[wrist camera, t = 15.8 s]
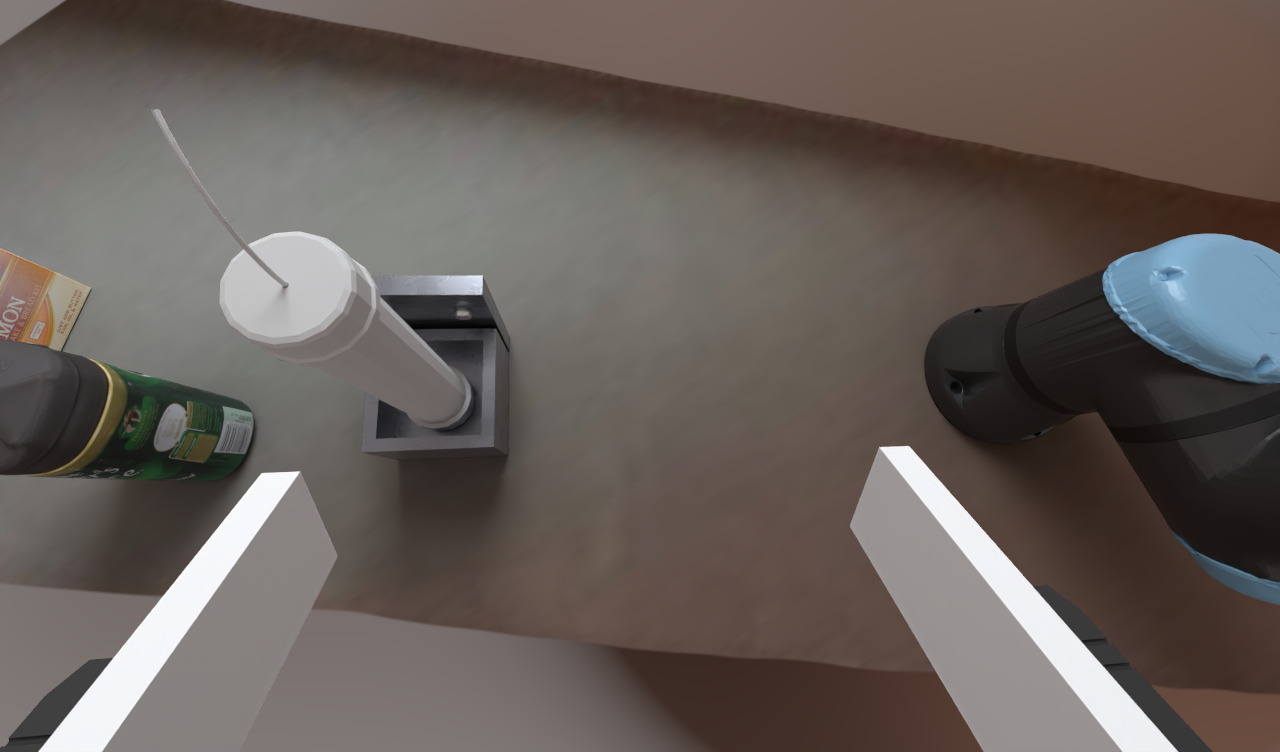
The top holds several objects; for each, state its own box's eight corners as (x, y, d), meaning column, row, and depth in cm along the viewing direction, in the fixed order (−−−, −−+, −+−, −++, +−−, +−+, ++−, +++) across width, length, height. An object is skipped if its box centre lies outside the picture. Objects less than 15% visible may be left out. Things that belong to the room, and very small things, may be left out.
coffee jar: (126, 475, 43) (-204, 459, 25) (160, 387, 45) (-123, 314, 27) (242, 489, 43) (5, 483, 25) (271, 402, 45) (69, 341, 27)
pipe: (422, 441, 42) (76, 312, 13) (403, 375, 43) (49, 126, 15) (485, 420, 43) (291, 257, 14) (465, 356, 44) (249, 88, 16)
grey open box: (508, 455, 47) (478, 438, 33) (398, 460, 45) (321, 443, 32) (509, 336, 50) (482, 275, 36) (406, 337, 48) (338, 275, 35)
